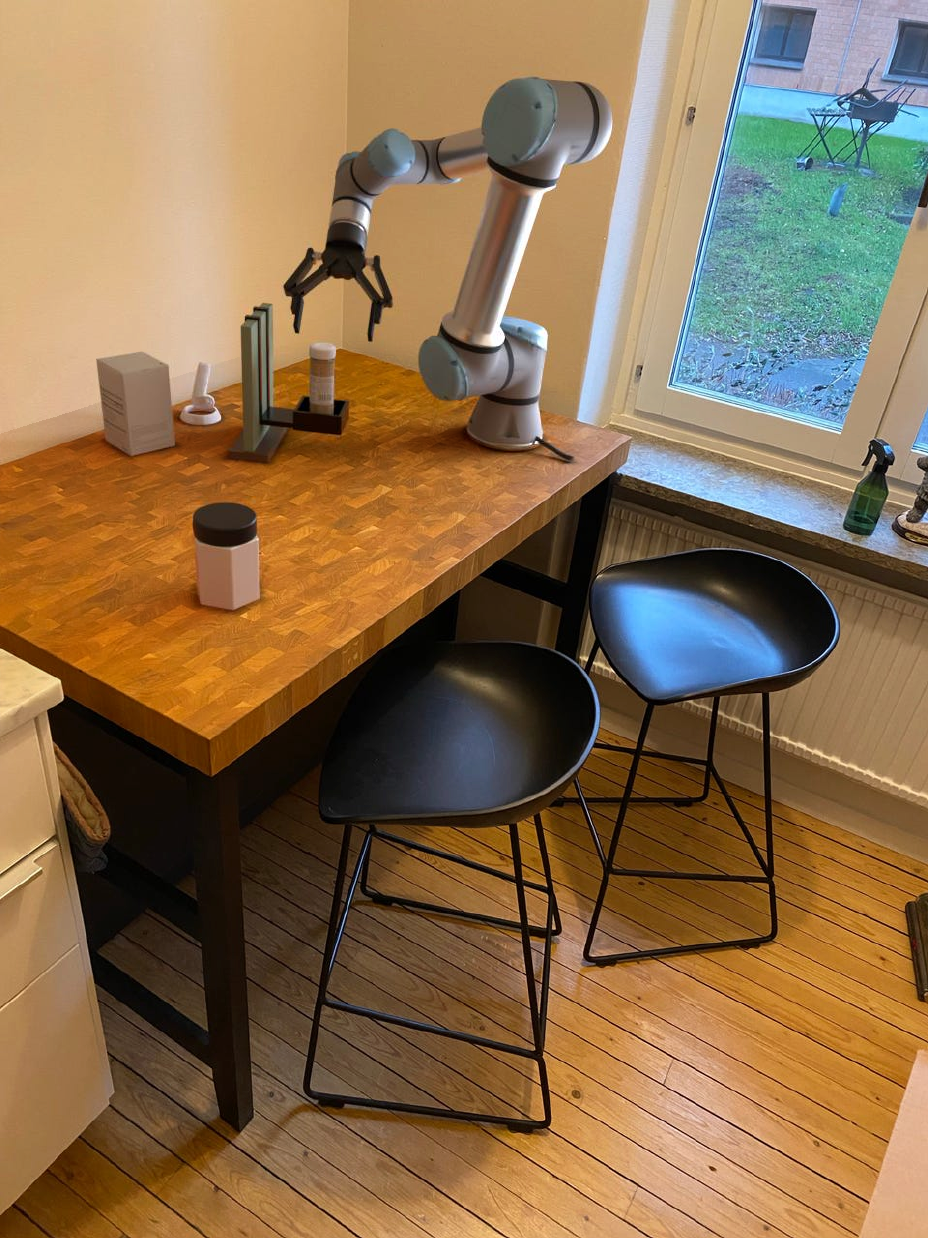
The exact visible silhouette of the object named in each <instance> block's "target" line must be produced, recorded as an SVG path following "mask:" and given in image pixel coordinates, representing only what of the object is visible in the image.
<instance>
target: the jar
mask: <svg viewBox="0 0 928 1238" xmlns="http://www.w3.org/2000/svg"><path fill="white" fill-rule="evenodd" d="M192 531H193V532H192V533H193V534H192V535H193V545H194V546H193V550H194V565H195V566H194V568H195V583H196V590H197V595H198V599H199V604H200V605H202V606H206V607H211V608H218V609H224V610H228V611H235V610H237V609H239V608H242V607H244V606H246V605H249V604H251V603H254V602H256V601H258V600H260V597H261V596H260V593H261V592H260V548H259V547H260V546H259V545H260V544H259V537H258V515H257V513H256V511H255V510H254V509H253V508H251V507H249V506H248V505H245V504H242V503H237V502H231V501H230V502H229V501H219V502H213V503H208V504H205V505H203V506H200V507H198V508H197V509H196V510H195V511H194V512H193V515H192Z"/></svg>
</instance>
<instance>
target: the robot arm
mask: <svg viewBox="0 0 928 1238" xmlns="http://www.w3.org/2000/svg"><path fill="white" fill-rule="evenodd" d="M612 131H613V113H612V108H611V107H610V104H609V100H608V99H607V98H606V96H605V95H604V94H603V93H602V91H601V90H599V89H598V88H597V87H595V86H594V85H591V84H590V83H588V82H583V81H577V80H576V81H573V80H571V81H570V80H560V79H550V78H549V79H548V78H540V77H538V76H529V77H528V76H527V77H524V78H522V77H521V78H519V77H518V78H513V79H510V80H508V81H507V82H505V83H503V84H501V85H500V86H499V87H498V88H497V89H495V91H494V92H493V93H492V95H490V98H489V100H488V101H487V103H486V105H485V108H484V111H483V113H482V119H481V127H477V128H473V129H469V130H465V131H462V132H458V133H455V134H454V133H453V134H450V135H447V136H443V137H439V138H436V139H411V138H410V137H409V136H408V135H407V134H406V133H405V132H401V130H399V129H398V128H393V127H392V128H387V129H385V130H383V131H382V132H381V133H380V134H378V135H376V136H374V138H373V139H372V140H371V141H370V142H369V143H368V144H367V145H366V146H365V147H364V148H363V149H362V151H359V150H358V151H357V150H355V151H351V152H346V153H344V154H343V155H342V156H341V157H340V158H339V160H338V165H337V169H336V171H335V175H334V176H335V177H334V188H333V195H332V196H333V197H332V201H331V208H330V213H329V219H328V229H327V233H326V239H325V246H324V250H323V251H322V252H319V251H315V250H314V248H313V247H308V248H307V249H306V253H305V256H304V258H303V259H302V261H301V262H300V263H299V265H298V266H297V267H296V268H295V270H294V271H293V272H292V274H291V275H290V276H289V277H288V279H287V280H286V281H285V283H283V286H282V287H283V291H284V295H285V296H286V297H287V298H288V297H290V298H291V301H290V312H291V315H294V317H293V323H292V327H293V331H294V334H297V335H299V334H300V330H301V326H302V325H301V324H302V319H303V318H302V317H303V311H304V306H305V300H304V297H305V296H307V295H308V294H309V293H311V292H312V291H313V290H314V289H316V288H317V286H320V284H322V283H323V282H324V281H328V280H329V279H330V278H333V279H336V280H340V279H342V280H346V281H351V280H352V279H353V280H355V282H356V283H357V285H359V286H360V287H361V289H362V290H363V292H364V293H365V294H366V296H367V297H368V299H369V300H370V301H371V304H370V311H369V319H368V326H367V327H368V328H367V333H366V335H367V341H368V342H370V343H372V342H373V340H374V332H375V326H376V325H380V324H381V323H382V316H383V311H384V309H385V308H388V309H392V308H393V307H394V299H393V295H392V292H391V290H390V287H389V285H388V282H387V280H386V278H385V275H384V272H383V269H382V265H381V257H380V255H378V254H375V255H374V256H373V257H366V252H367V246H368V245H367V244H368V235H369V231H370V230H369V229H370V223H371V216H372V208H373V203H374V200H375V199H376V198H377V197H378V196H380V195H381V194H382V193H383V192H385V190H387V189H388V188H389V187H391V186H393V185H450V184H455V183H459V182H460V181H461V180H462V179H463V178H469V177H475V176H479V175H484V174H489V173H490V174H491V178H490V179H491V180H490V182H489V186H488V190H487V193H486V196H485V200H484V203H483V207H482V211H481V213H480V218H479V221H478V224H477V228H476V231H475V234H474V238H473V242H472V244H471V248H470V252H469V255H468V258H467V263H466V265H465V269H464V272H463V276H462V279H461V283H460V285H459V290H458V294H457V297H456V301H455V304H454V307H453V310H451V311H449V312H446V313H445V314H443V316H442V318H441V322H440V324H439V329H438V332H437V335H431V336H429V337H428V338H426V339H425V340H423V342H422V343H421V344H420V347H419V350H418V358H417V359H418V360H417V361H418V362H417V363H418V369H419V373H420V376H421V379H422V382H423V383H424V385H425V387H426V389H427V390H428V391H429V393H430V394H431V395H433V396H434V397H435V398H436V399H438V400H440V401H443V402H453V401H457V402H461V401H464V400H465V399H469V398H474V397H478V399H477V401H476V404H475V405H474V408H473V410H472V412H471V415H470V417H469V419H468V421H467V424H466V435H467V437H468V438H469V439H470V440H471V441H473V442H474V443H476V444H478V445H480V446H483V447H486V448H490V449H494V450H499V451H506V452H521V451H522V452H523V451H529V450H533V449H535V448H538V447H539V446H543V447H545V448H546V449H548V450H549V451H550V452H552V453H553V454H555V455H556V456H558V457H561V459H564V460H566V461H570V462H574V460H575V456H574V455H570V454H567V453H565V452H564V451H562V450H560V449H558V448H557V447H555V446H554V445H553V444H551V443H549V442H548V441H546V440H545V439H543V436H544V435H543V433H544V430H543V426H542V419H541V413H540V407H539V400H540V394H541V387H542V382H543V374H544V367H545V361H546V357H547V351H548V348H547V346H548V332H547V330H546V329H545V328H544V327H543V326H541V325H540V324H537V323H536V322H532V321H529V320H526V319H522V318H518V317H513V316H506V315H504V314H505V311H506V309H507V304H508V302H509V299H510V296H511V293H512V289H513V286H514V284H515V282H516V281H515V280H516V278H517V276H518V275H517V274H518V272H519V268H520V265H521V262H522V259H523V257H524V253H525V251H526V247H527V244H528V241H529V238H530V235H531V231H532V229H533V226H534V222H535V219H536V217H537V213H538V211H539V208H540V204H541V201H542V198H543V196H544V194H545V193H548V192H549V191H551V190H553V189H555V188H556V186H557V183H558V180H559V178H560V174H561V172H562V169H563V166H566V165H567V166H569V165H571V166H572V165H581V164H584V163H588V162H590V161H591V160H593V159H594V158H596V157H597V156H598V155H600V154H601V153H602V151H603V150H604V149H605V147H606V146H607V144H608V142H609V140H610V137H611V134H612ZM319 261H321V264H320V265H319V266H318V268H317V269H316V270H315V271H314V272H312V273H311V274H310V275H309V276H308V274H309V273H310V272H311V270H312V268H313V266H316V265H317V263H318V262H319ZM366 267H368V268H369V270H370V271H371V272H374V277H375V280H376V282H377V285H378V288H379V290H380V292H381V295H380V293H379V292H378V291H377V290H376V288H375V286H373V284H372V283H371V281H370V280H369V279H368V277H367V276H366V275H365V273H364V271H363V270H364V269H365V268H366Z"/></svg>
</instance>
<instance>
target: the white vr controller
mask: <svg viewBox="0 0 928 1238" xmlns="http://www.w3.org/2000/svg"><path fill="white" fill-rule="evenodd" d="M211 369H212V368H211V364H210V363H207V362H203V361H202V362H199V363H198V365H197V370H196V373H195V374H196V375H195V380H194V385H193V390H192V393H191V399H190V403H191V404H188V405H186V406H184V407H183V408H182V410H181V413H180V416H179V419H180V420H181V421H182V422H184V423H186V424H190V425H196V426H206V425H213V424H216V423H218V422H220V421H221V420H222V415H221V413H220V411H219V410H218V408H217V407H216V406H215V398H214V396H213V395H210V394H208V393H207V389H208V382H209V378H210V373H211ZM193 412H206V413H207V414H193Z"/></svg>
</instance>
